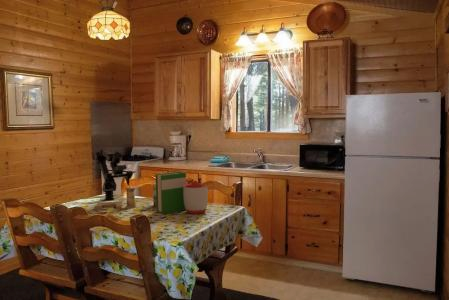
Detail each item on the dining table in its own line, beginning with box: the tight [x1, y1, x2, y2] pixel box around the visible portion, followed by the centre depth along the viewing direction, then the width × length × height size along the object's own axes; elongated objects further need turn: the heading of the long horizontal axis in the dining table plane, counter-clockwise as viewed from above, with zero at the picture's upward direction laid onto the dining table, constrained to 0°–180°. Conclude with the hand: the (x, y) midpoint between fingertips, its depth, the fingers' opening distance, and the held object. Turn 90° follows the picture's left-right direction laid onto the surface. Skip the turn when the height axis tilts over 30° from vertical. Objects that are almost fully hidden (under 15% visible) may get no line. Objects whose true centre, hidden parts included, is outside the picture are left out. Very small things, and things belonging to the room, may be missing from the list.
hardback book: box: [155, 171, 187, 215], centre depth 244 cm, size 18×7×24 cm, turn 128°
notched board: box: [95, 200, 123, 212], centre depth 259 cm, size 16×16×2 cm
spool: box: [124, 186, 137, 209], centre depth 257 cm, size 6×6×13 cm
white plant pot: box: [183, 180, 210, 215], centre depth 241 cm, size 16×17×20 cm
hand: (122, 186), depth 261 cm, fingers open, 9 cm apart
